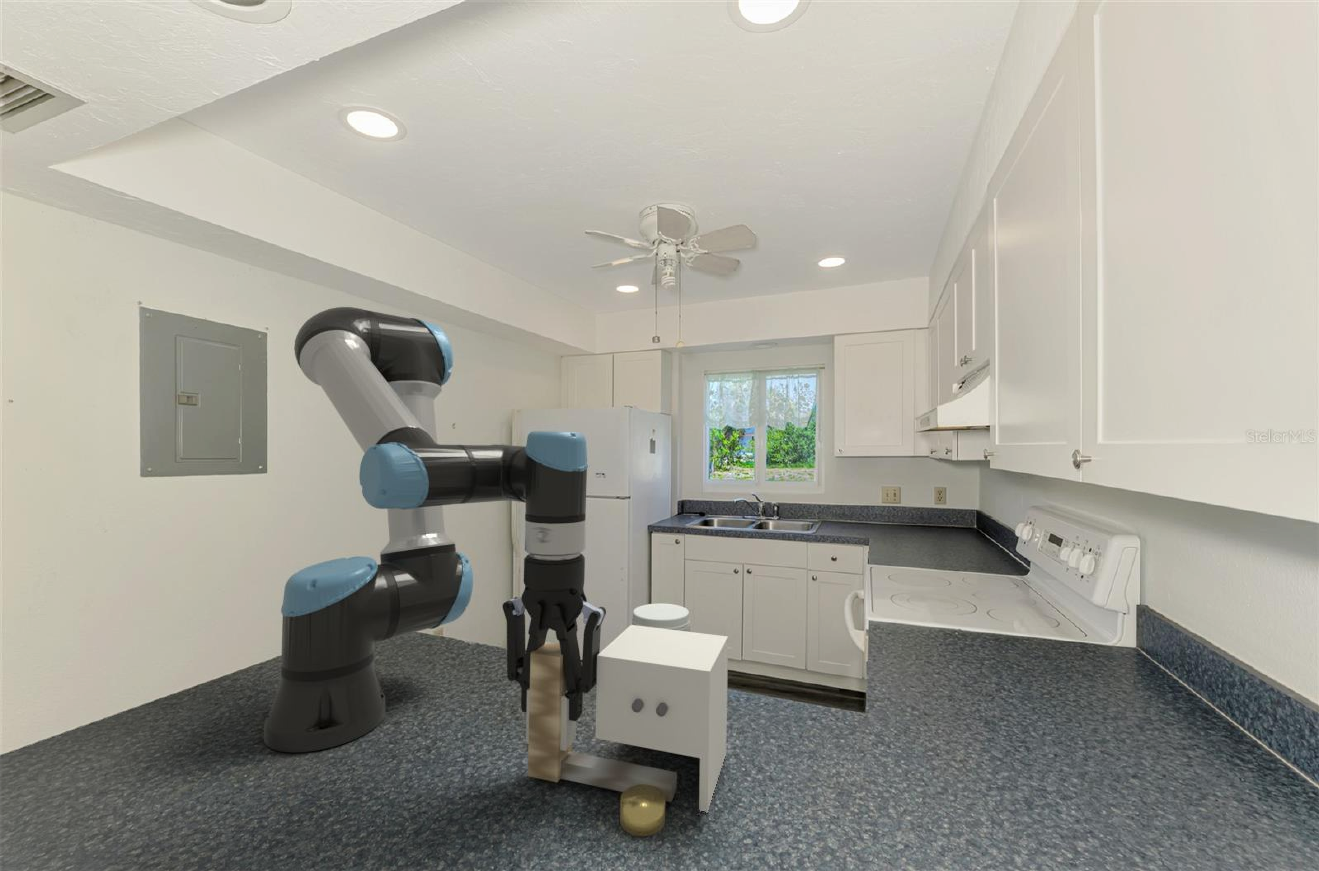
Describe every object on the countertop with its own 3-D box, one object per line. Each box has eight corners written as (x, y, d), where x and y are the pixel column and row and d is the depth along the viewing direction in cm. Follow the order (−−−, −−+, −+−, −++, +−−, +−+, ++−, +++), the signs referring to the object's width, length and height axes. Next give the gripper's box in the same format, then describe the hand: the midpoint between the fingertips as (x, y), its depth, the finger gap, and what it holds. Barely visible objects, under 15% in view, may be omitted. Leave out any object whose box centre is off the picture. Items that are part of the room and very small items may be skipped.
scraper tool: (527, 775, 66) (530, 652, 67) (543, 757, 70) (546, 641, 70) (669, 806, 61) (671, 673, 61) (678, 785, 65) (680, 659, 65)
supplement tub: (701, 706, 87) (702, 614, 87) (651, 721, 82) (653, 624, 82) (667, 683, 95) (668, 599, 95) (620, 696, 90) (621, 607, 90)
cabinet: (591, 792, 65) (594, 658, 65) (628, 737, 77) (630, 624, 77) (705, 817, 61) (708, 674, 61) (726, 755, 73) (727, 636, 73)
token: (613, 831, 59) (614, 808, 59) (628, 802, 63) (628, 781, 63) (658, 841, 57) (658, 817, 57) (669, 810, 62) (670, 788, 62)
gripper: (478, 553, 67) (473, 744, 67) (606, 565, 62) (602, 771, 62) (511, 543, 74) (508, 715, 74) (629, 553, 69) (625, 737, 69)
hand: (550, 740), depth 68 cm, fingers closed on scraper tool, 4 cm apart
